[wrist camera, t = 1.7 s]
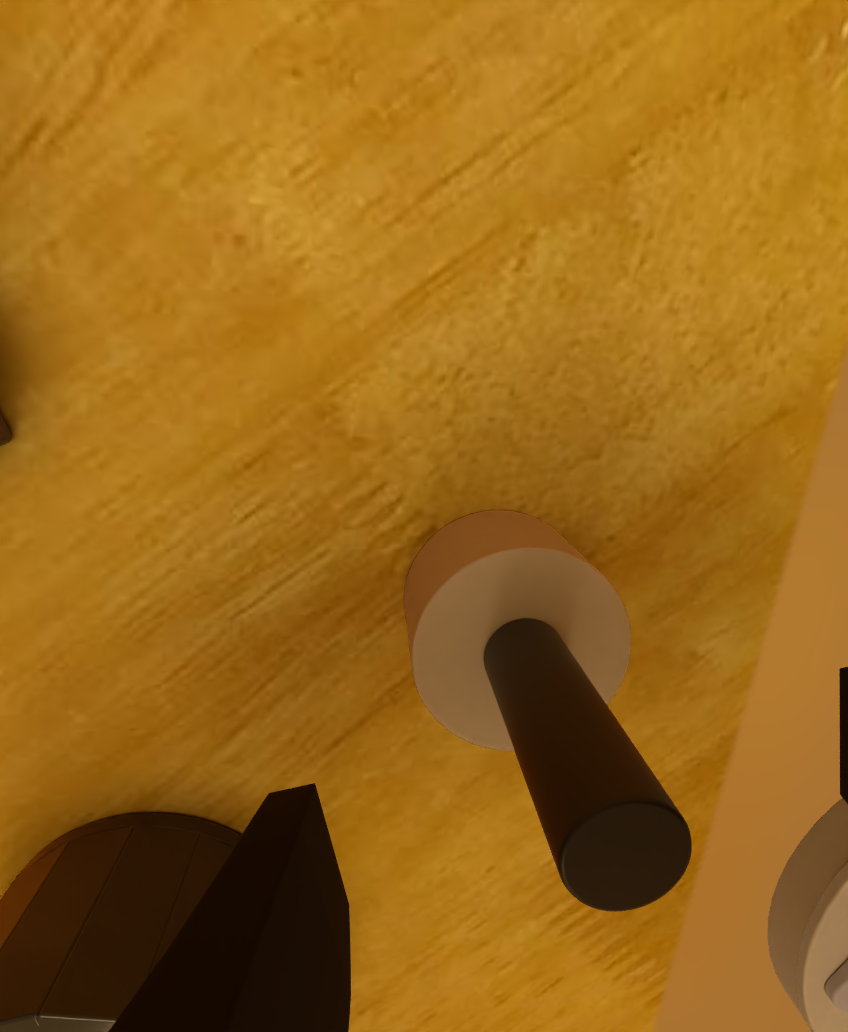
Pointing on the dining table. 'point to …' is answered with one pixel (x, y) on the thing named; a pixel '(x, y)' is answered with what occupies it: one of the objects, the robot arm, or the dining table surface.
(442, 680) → the brush
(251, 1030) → the robot arm
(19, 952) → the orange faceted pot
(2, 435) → the electronic device
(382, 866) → the dining table surface
